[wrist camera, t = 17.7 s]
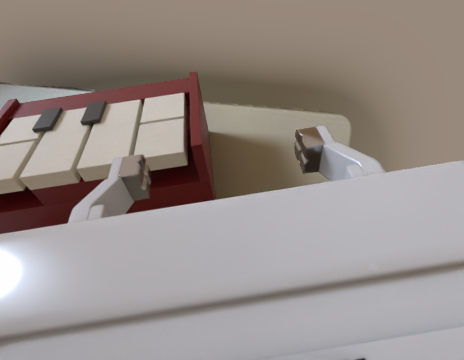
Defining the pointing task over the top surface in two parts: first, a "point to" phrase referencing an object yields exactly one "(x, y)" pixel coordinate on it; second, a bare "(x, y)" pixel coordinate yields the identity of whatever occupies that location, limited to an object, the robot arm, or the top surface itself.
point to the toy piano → (101, 149)
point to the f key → (163, 144)
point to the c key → (14, 165)
